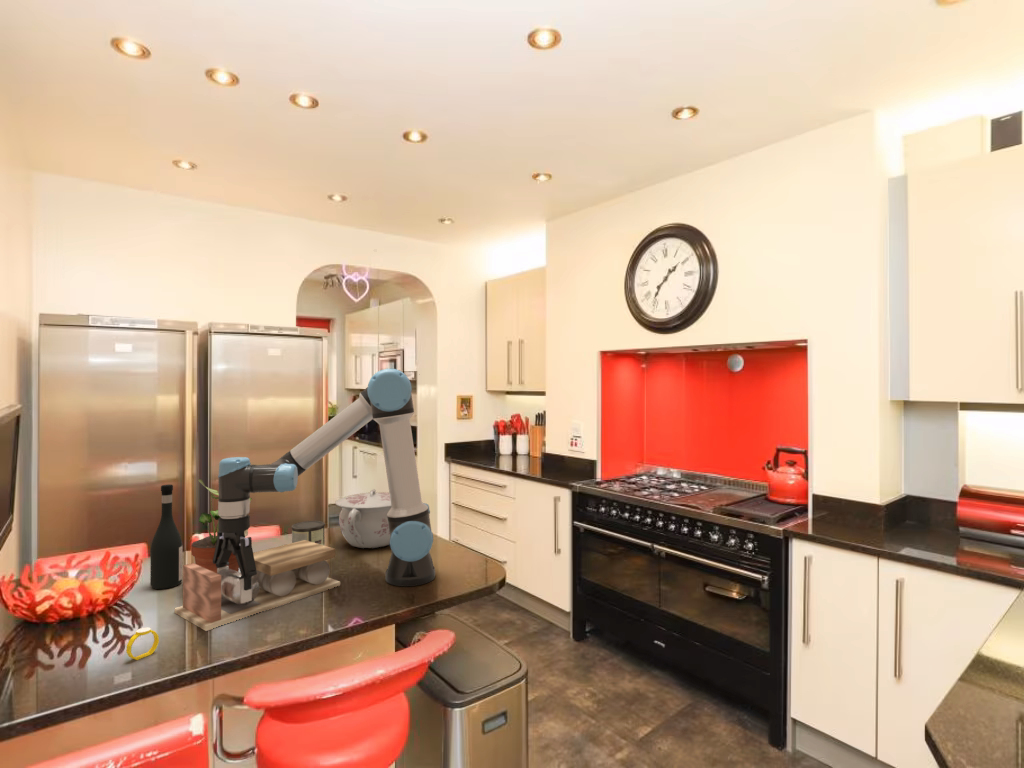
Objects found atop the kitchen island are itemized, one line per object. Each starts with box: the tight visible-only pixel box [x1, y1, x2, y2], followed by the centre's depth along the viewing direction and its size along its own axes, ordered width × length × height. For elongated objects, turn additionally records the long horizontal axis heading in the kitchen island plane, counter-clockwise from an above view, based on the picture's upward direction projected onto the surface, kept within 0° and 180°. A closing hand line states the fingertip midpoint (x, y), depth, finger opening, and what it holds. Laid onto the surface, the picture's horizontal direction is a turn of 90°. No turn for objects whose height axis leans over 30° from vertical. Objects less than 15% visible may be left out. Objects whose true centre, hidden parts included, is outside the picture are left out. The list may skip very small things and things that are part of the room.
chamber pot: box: [334, 488, 391, 549], centre depth 205 cm, size 28×28×21 cm
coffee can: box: [291, 520, 326, 546], centre depth 178 cm, size 10×10×14 cm
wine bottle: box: [149, 484, 183, 590], centre depth 162 cm, size 8×8×30 cm
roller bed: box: [174, 560, 341, 632], centre depth 151 cm, size 18×38×12 cm, turn 143°
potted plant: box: [190, 478, 253, 573], centre depth 162 cm, size 16×15×35 cm
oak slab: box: [253, 540, 336, 576], centre depth 158 cm, size 16×20×2 cm
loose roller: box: [217, 569, 259, 605], centre depth 145 cm, size 12×7×7 cm, turn 53°
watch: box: [125, 627, 160, 661], centre depth 119 cm, size 6×3×6 cm, turn 151°
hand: (234, 596), depth 145 cm, fingers closed on loose roller, 12 cm apart
